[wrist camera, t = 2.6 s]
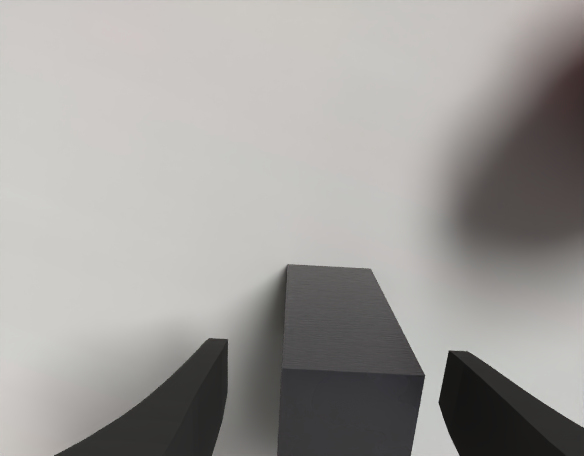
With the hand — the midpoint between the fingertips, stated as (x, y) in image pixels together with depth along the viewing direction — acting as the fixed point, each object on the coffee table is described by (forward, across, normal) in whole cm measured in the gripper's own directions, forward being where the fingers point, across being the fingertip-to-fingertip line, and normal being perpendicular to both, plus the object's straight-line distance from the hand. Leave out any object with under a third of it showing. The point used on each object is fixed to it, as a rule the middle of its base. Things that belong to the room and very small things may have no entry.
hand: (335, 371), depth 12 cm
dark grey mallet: (+5, 0, +6) cm, 8 cm away
